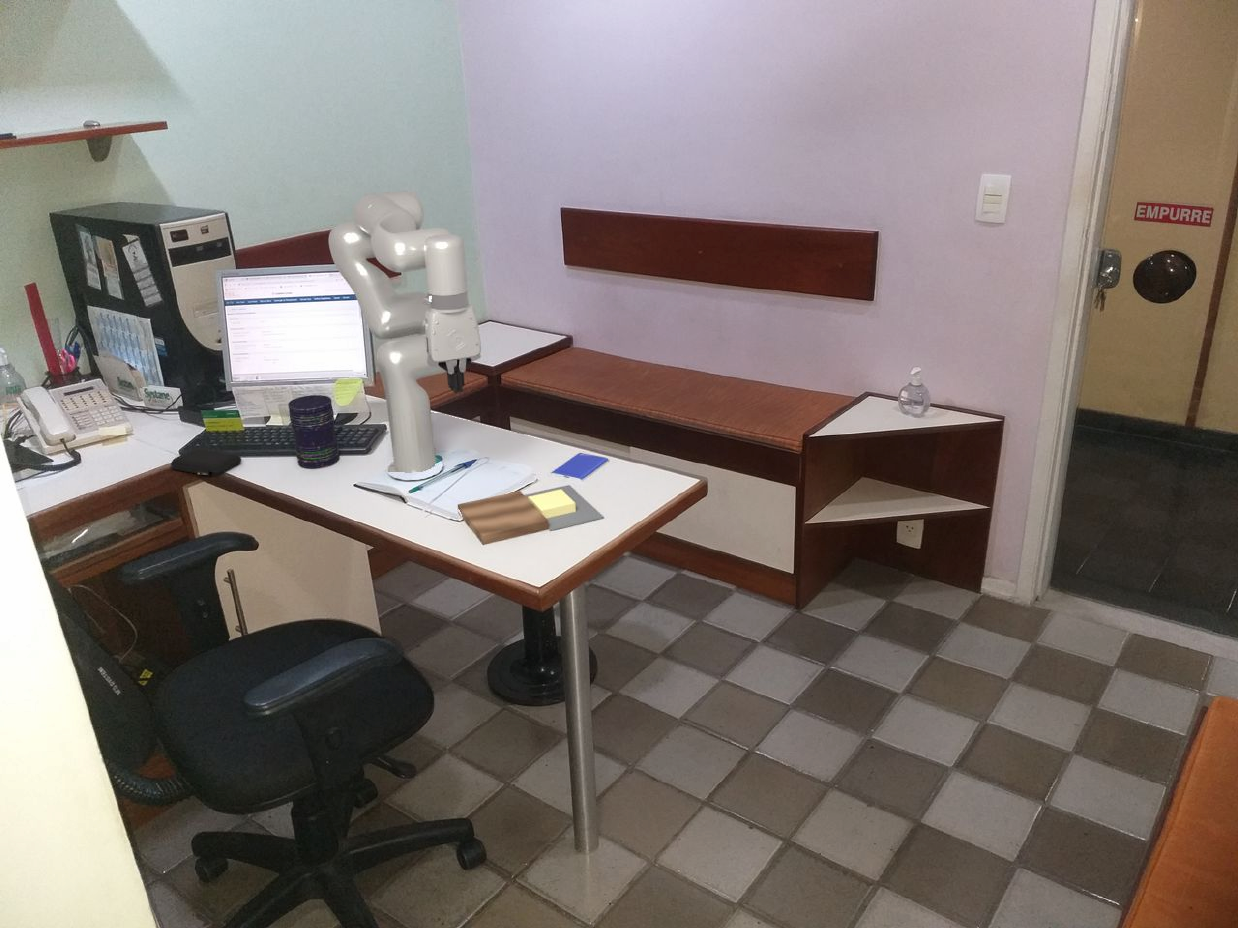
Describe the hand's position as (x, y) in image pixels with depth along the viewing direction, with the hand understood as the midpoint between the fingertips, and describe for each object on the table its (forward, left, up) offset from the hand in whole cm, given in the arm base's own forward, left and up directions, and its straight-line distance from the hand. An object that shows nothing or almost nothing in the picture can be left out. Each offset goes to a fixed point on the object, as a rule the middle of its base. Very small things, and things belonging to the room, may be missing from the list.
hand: (456, 390), depth 194 cm
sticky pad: (+8, +16, -27) cm, 32 cm away
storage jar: (-43, -23, -27) cm, 56 cm away
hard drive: (-9, +30, -28) cm, 42 cm away
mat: (+8, +18, -27) cm, 33 cm away
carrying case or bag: (-52, -48, -28) cm, 76 cm away
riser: (+8, +5, -27) cm, 29 cm away
